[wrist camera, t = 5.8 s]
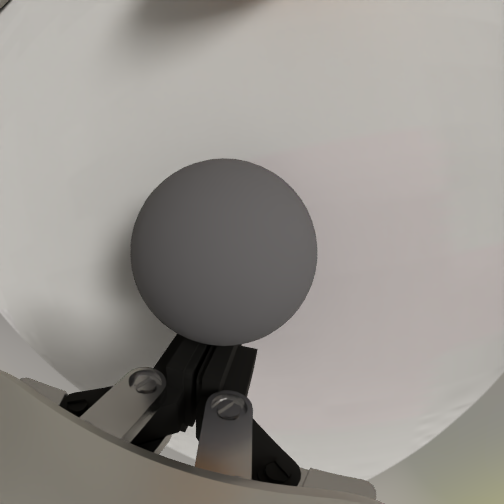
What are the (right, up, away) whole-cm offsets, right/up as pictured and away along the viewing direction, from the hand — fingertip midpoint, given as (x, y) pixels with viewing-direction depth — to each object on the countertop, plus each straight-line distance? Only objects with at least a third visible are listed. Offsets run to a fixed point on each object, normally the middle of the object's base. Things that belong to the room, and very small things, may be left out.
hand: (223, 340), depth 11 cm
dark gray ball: (0, +4, -3) cm, 5 cm away
